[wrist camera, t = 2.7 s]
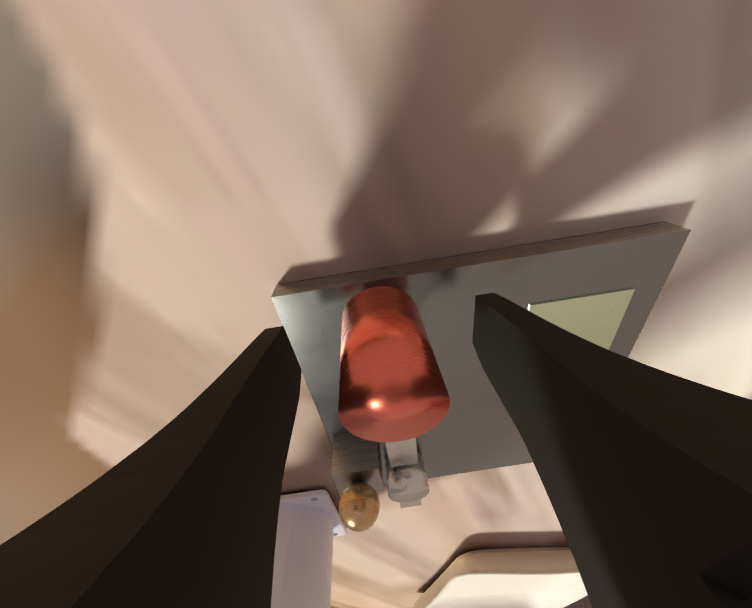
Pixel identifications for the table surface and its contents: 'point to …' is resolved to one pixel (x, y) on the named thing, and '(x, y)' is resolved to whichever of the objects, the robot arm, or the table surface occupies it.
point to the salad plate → (507, 580)
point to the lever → (390, 384)
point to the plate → (455, 333)
